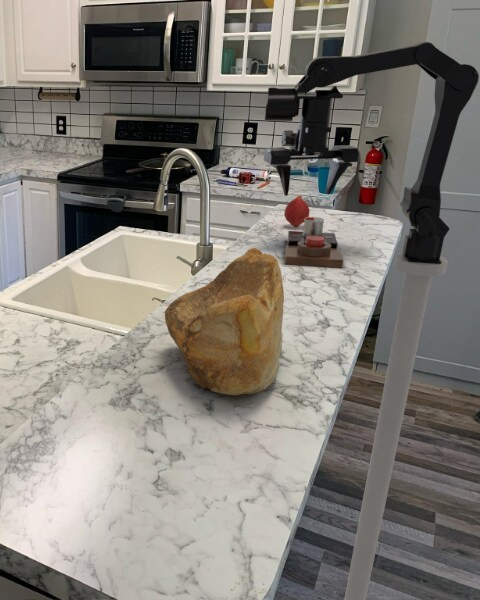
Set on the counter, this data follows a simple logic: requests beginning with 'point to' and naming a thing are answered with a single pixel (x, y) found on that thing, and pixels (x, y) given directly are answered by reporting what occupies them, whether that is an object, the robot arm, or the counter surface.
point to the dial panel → (298, 236)
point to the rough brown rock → (232, 326)
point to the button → (314, 241)
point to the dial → (313, 226)
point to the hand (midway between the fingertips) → (306, 194)
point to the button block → (313, 255)
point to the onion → (296, 211)
